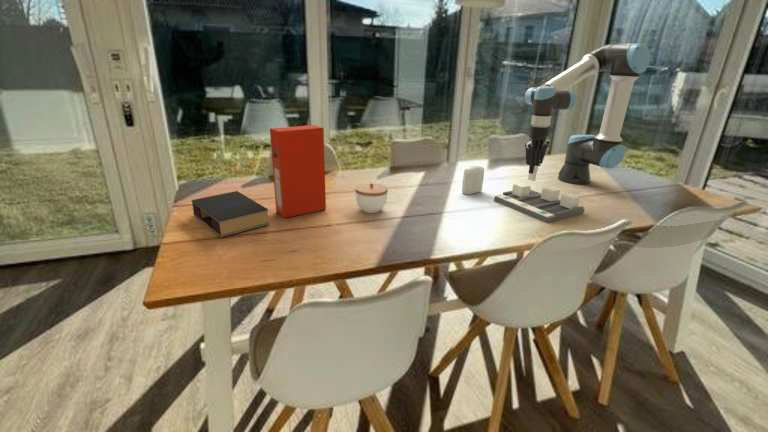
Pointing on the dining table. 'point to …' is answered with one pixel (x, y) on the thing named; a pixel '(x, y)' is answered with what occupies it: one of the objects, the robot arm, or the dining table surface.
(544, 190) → the middle tab
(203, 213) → the book
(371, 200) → the lidded bowl
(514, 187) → the tab
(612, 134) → the robot arm
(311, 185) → the file binder
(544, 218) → the dark grey slotted tray
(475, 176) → the photo printer
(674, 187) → the dining table surface
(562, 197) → the tab
